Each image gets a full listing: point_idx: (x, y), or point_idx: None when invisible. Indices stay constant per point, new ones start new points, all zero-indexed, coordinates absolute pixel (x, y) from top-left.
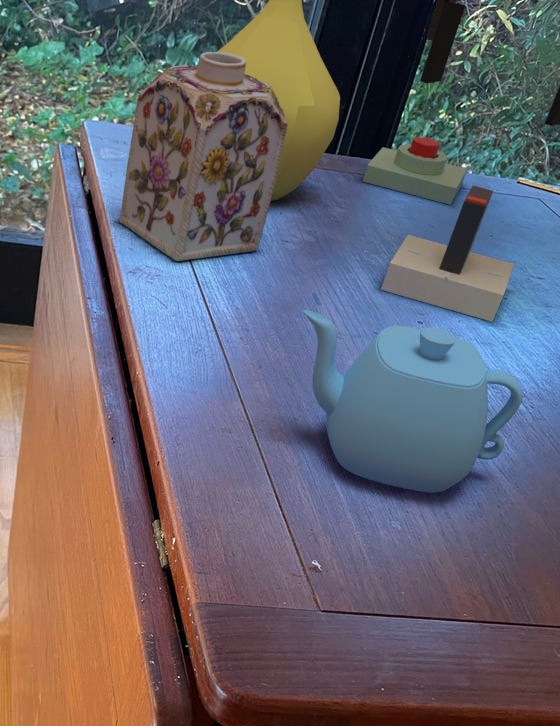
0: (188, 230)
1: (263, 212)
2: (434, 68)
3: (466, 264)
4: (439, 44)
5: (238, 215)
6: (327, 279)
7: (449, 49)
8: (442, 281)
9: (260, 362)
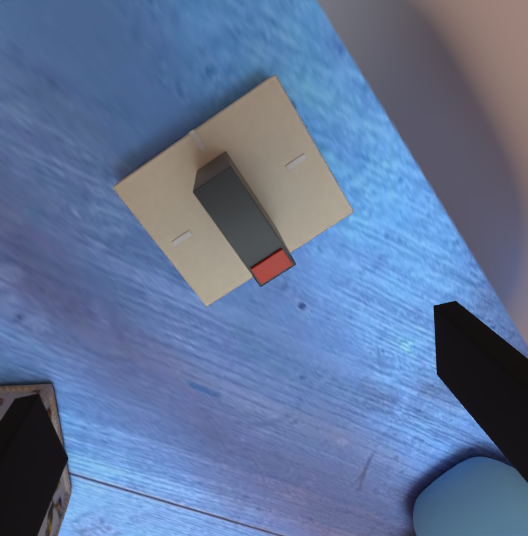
0: (58, 517)
1: None
2: (49, 474)
3: (249, 181)
4: None
5: None
6: (156, 340)
7: (2, 468)
8: None
9: (304, 514)
